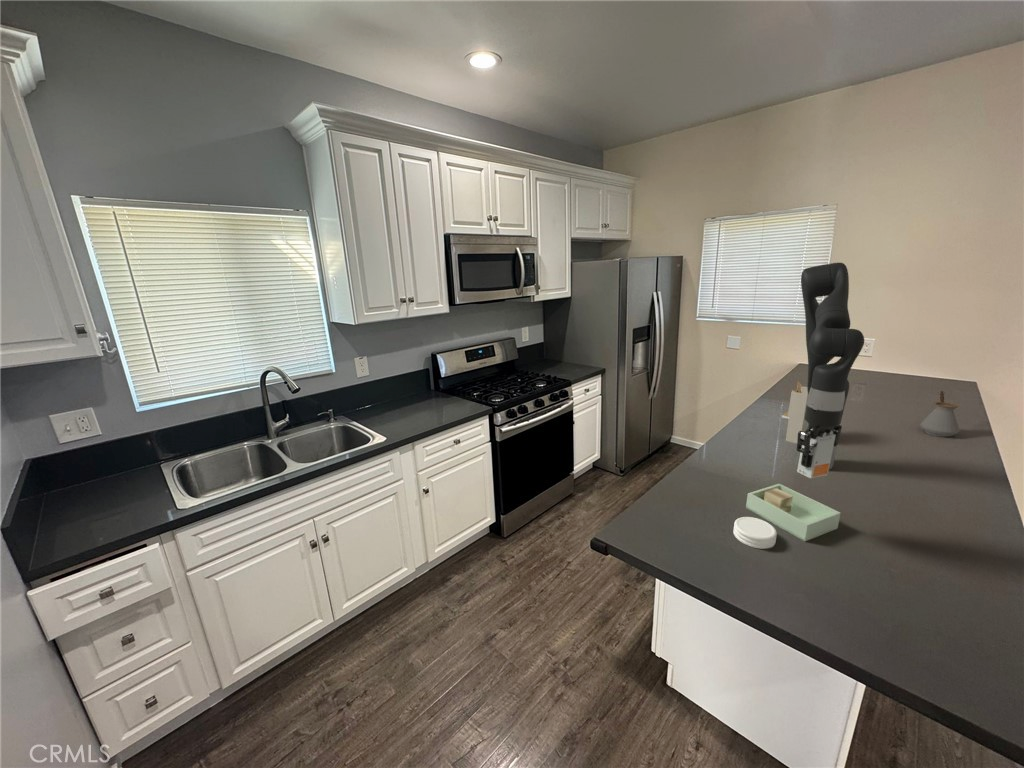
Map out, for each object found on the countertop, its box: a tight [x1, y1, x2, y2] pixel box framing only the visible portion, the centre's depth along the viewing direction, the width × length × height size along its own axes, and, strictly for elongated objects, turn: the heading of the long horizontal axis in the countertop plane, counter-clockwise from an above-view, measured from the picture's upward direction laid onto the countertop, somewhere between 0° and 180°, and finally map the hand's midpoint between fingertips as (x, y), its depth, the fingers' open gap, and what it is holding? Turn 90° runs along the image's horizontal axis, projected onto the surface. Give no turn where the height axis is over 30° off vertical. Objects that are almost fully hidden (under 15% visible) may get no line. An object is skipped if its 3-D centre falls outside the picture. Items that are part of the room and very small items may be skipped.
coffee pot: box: [919, 390, 961, 438], centre depth 172 cm, size 21×12×15 cm, turn 140°
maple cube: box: [764, 488, 793, 512], centre depth 121 cm, size 5×5×5 cm
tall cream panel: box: [781, 381, 808, 444], centre depth 168 cm, size 8×12×26 cm
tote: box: [745, 483, 842, 542], centre depth 117 cm, size 14×18×5 cm
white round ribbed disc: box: [732, 516, 778, 550], centre depth 110 cm, size 10×10×4 cm
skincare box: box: [796, 434, 836, 479], centre depth 109 cm, size 6×4×12 cm
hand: (814, 463), depth 109 cm, fingers closed on skincare box, 6 cm apart
